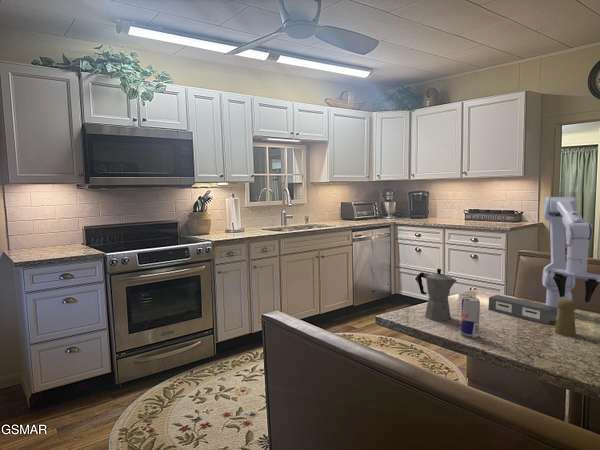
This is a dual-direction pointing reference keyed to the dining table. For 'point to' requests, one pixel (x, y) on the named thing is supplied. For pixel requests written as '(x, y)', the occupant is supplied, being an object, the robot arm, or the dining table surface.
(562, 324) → the cork
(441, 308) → the coffeepot
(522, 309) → the dark gray slotted box
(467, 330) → the energy drink
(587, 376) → the dining table surface
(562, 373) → the dining table surface
